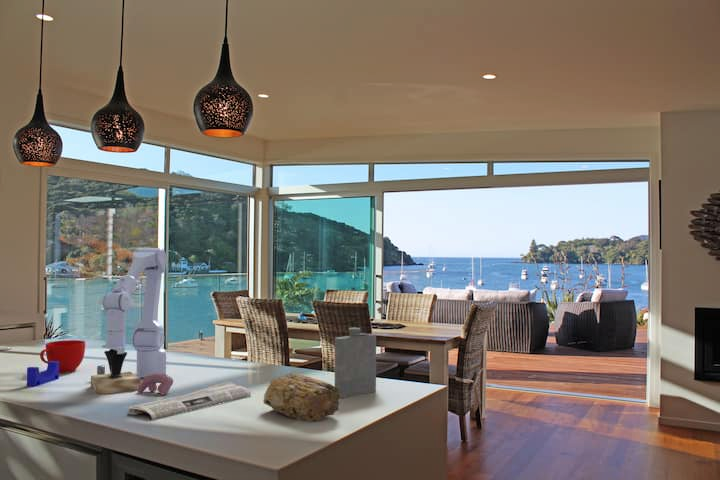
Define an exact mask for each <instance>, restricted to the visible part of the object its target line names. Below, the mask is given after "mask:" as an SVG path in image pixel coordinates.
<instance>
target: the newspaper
mask: <svg viewBox="0 0 720 480" xmlns="http://www.w3.org/2000/svg"><path fill="white" fill-rule="evenodd" d="M251 396H252V394H251V391H250V390H249V388H247V387H245V386H242V385H237V384H235V383H233V382H232V381H231V380H229V381H228V380H227V381H224V382H222V383H218V384H215V385H212V386H209V387H206V388H202V389H199V390H195V391H193V392H189V393H187V394H184V395H183V394H182V395H179V396H173V397H169V398H163V399H160V400H154V401H150V402H145V403H140V404H135V405H129V406H128V408H129V409H128V414H129V415H139V414H140V415H141V414H145V413H147V414H149V415H150V417H151V418H152V419H151V418H150V419H151V421H154V420H155V421H156V420H158V419H163V418H167V417H171V415H172V416H174V415H175V414H176V415H178V413H180V414H183V413H182V412H184V413H187V412H186V411H188V412H191V411H190V410H192V411H196V410H200V409H204V408H203V407H205V408H208V407H207V406H209V407H211V405H213V406H216V405H215V404H217V405H220V404H219V403H221V404H224V403H223V402H225V403H229V402H233V401H237V400H241V399H244V398H245V399H246V398H249V397H251ZM228 401H229V402H228ZM199 408H200V409H199ZM195 409H196V410H195ZM176 415H175V416H176Z"/></svg>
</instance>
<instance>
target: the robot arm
mask: <svg viewBox="0 0 720 480" xmlns="http://www.w3.org/2000/svg"><path fill="white" fill-rule="evenodd" d="M131 257H132V263H131V265H130V267H129V268H128V271H127V273H126V274H125V275H122V276H121V277H120V278H118V281H117V282H116V284H115V285H114V287H113V288H112V290H111V291H110V292H107V293H106V294H105V295H104V296H103V299H102V302H101V303H102V308H103V311H104V313H103V314H104V316H105V324H106V325H105V344H101V348H102V349H108V350H104V352H103V353H104V355H105V357H106V358H107V362H108V368H109V374H111V368H112V374H113V375H120V373H122V370H123V365H124V364H123V363H124V362H125V360H126V359H125V358H126V357H127V355H128V352H127V351H125V348H126V347H127V344H126V329H127V328H126V325H127V324H126V322H127V321H126V318H127V317H126V316H127V314H126V313H127V310H128V309H129V307H130V304H131V299H132V297H131V296H132V294H133V293H134V292H135V290H136V288H137V286H138V282H137V280H138V279H139V277H140V276H141V275H142V273H143V274H144V275H145V277H146V279H145V287H144V295H143V297H144V298H143V304H142V305H143V306H142V313H141V320H140V321H139V322H138V323H137V324H135V325H134V328H133V331H132V334H131V338H130V342H131V345H132V347H133V348H134V351H136V372H132V373H133V374H134V375H136V376H138V377H139V378H140V379H141V378H143V379H144V378H145V377H146V376H147V375H148V374H154V373H163V374H166V375H168V374H167V354H166V350H165V348H162V347H163V345H164V343H165V330H164V329H165V327H163V325H162V324H160V322H158V313H159V305H160V295H161V288H162V287H161V286H162V275H163V274H164V273H165V272H166V267H167V258H168V257H167V253H166V251H165V250H164V248H162V247H154V248H153V247H151V248H149V247H147V248H145V247H142V248H141V247H136V248H135V249H134V250H133V253H132V255H131Z"/></svg>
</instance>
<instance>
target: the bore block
mask: <svg viewBox="0 0 720 480" xmlns="http://www.w3.org/2000/svg"><path fill="white" fill-rule="evenodd" d="M133 373H134V372H131V371H125V372H121V373H120V375H119V378H111V373H105V374H103V375H97V374H95V375H91V376H90V388H91V389H93V390H94V391H95V392H96V393H97V394H98V395H104V394H113V393H118V392H128V391H129V392H130V391H138V387H139V385H140V384H141V378H139V377H138V376H136V375H134V374H133Z"/></svg>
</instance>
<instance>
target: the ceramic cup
mask: <svg viewBox="0 0 720 480" xmlns="http://www.w3.org/2000/svg"><path fill="white" fill-rule="evenodd" d="M44 346H45V348H44V349H42V350H41V352H40V354H39V357H40V360H41V361H42V363H44V364H47V365H48V362H50V361H59V373H72V372H75V371H76V370H77V369H78V367H79V366H80V365H81V363H82V362H83V359H84V357H85V352H86V341H84V340H76V339H73V340H70V339H69V340H55V341H50V342H46V343H45V345H44ZM44 355H45V356H46V359H45V357H44Z"/></svg>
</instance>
